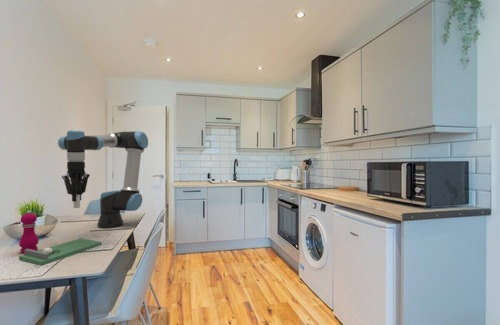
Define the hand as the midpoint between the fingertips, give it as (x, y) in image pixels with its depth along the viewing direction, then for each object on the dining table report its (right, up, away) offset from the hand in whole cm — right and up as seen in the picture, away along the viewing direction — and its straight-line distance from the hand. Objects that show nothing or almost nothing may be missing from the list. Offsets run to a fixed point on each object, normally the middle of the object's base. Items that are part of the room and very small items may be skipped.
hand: (76, 207), depth 131 cm
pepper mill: (-19, -21, -6) cm, 29 cm away
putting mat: (-2, -20, -6) cm, 21 cm away
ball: (-5, -18, -13) cm, 23 cm away
